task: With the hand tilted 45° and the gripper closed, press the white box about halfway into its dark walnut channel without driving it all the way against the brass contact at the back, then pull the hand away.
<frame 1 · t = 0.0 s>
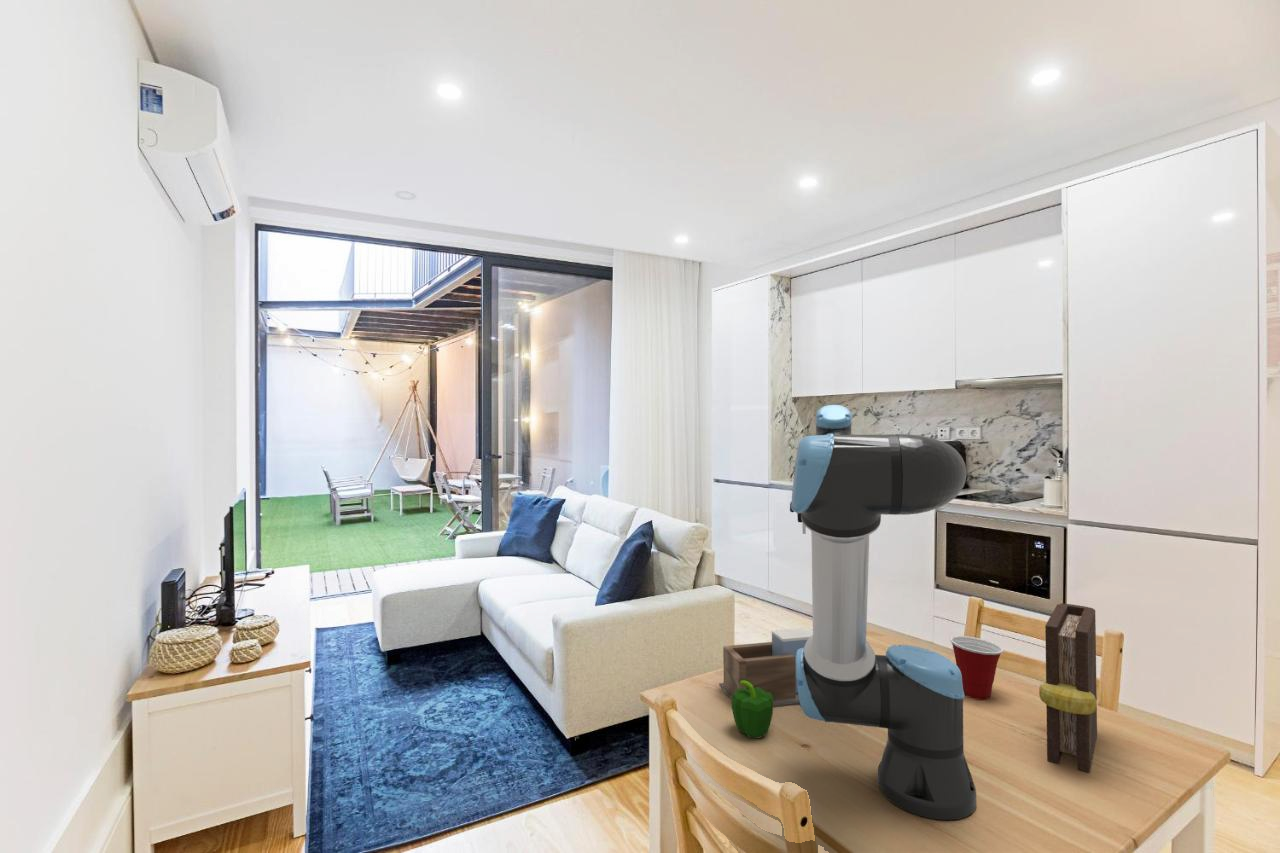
hand: (832, 531, 152), 36 cm above the table, tool tilted 35°, fingers open, 13 cm apart
book: (1072, 749, 116), on the table
housing: (770, 692, 141), on the table
bell pepper: (753, 732, 123), on the table
white box: (797, 659, 143), point 7 cm above the table, slide at 0.0 cm
plastic cup: (976, 695, 140), on the table
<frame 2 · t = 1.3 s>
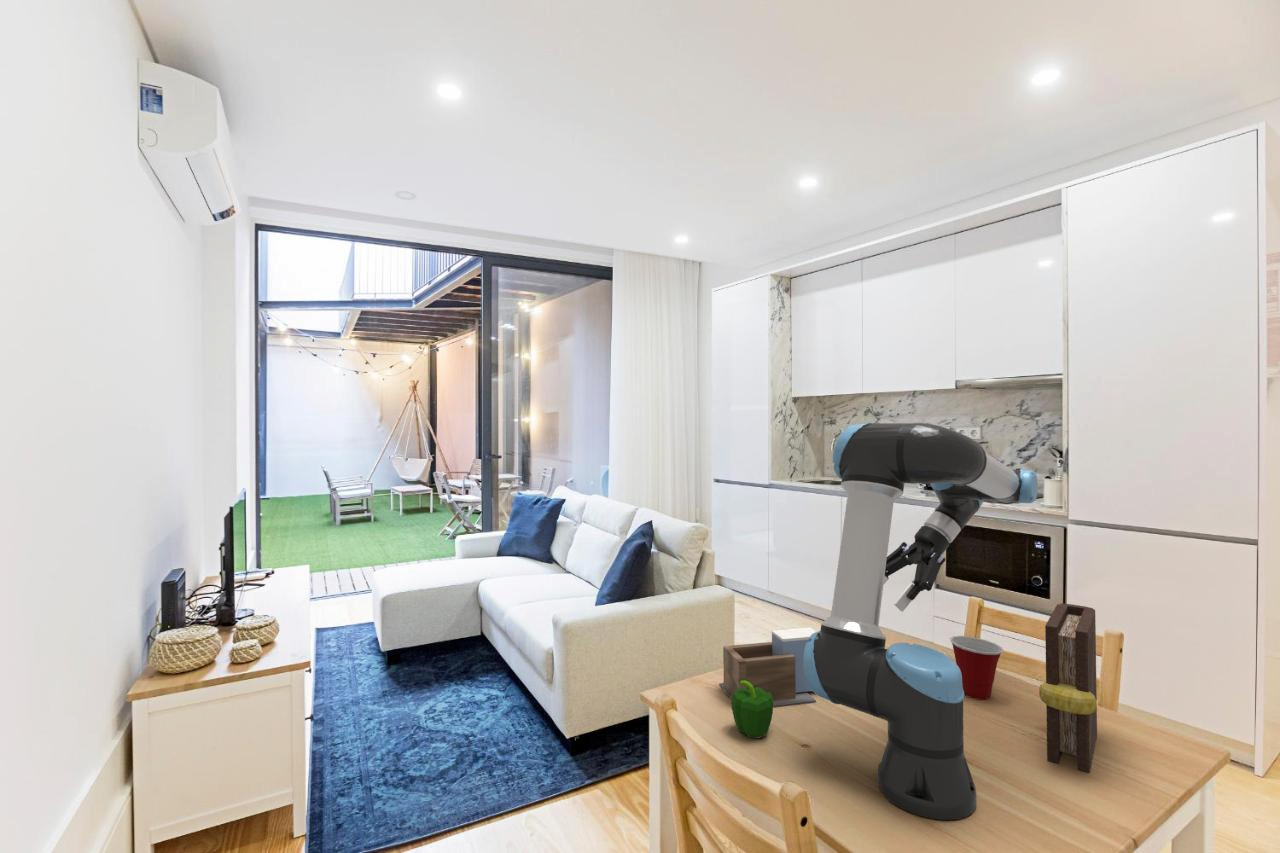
hand: (882, 600, 148), 19 cm above the table, tool tilted 45°, fingers open, 11 cm apart
nothing on the table moved.
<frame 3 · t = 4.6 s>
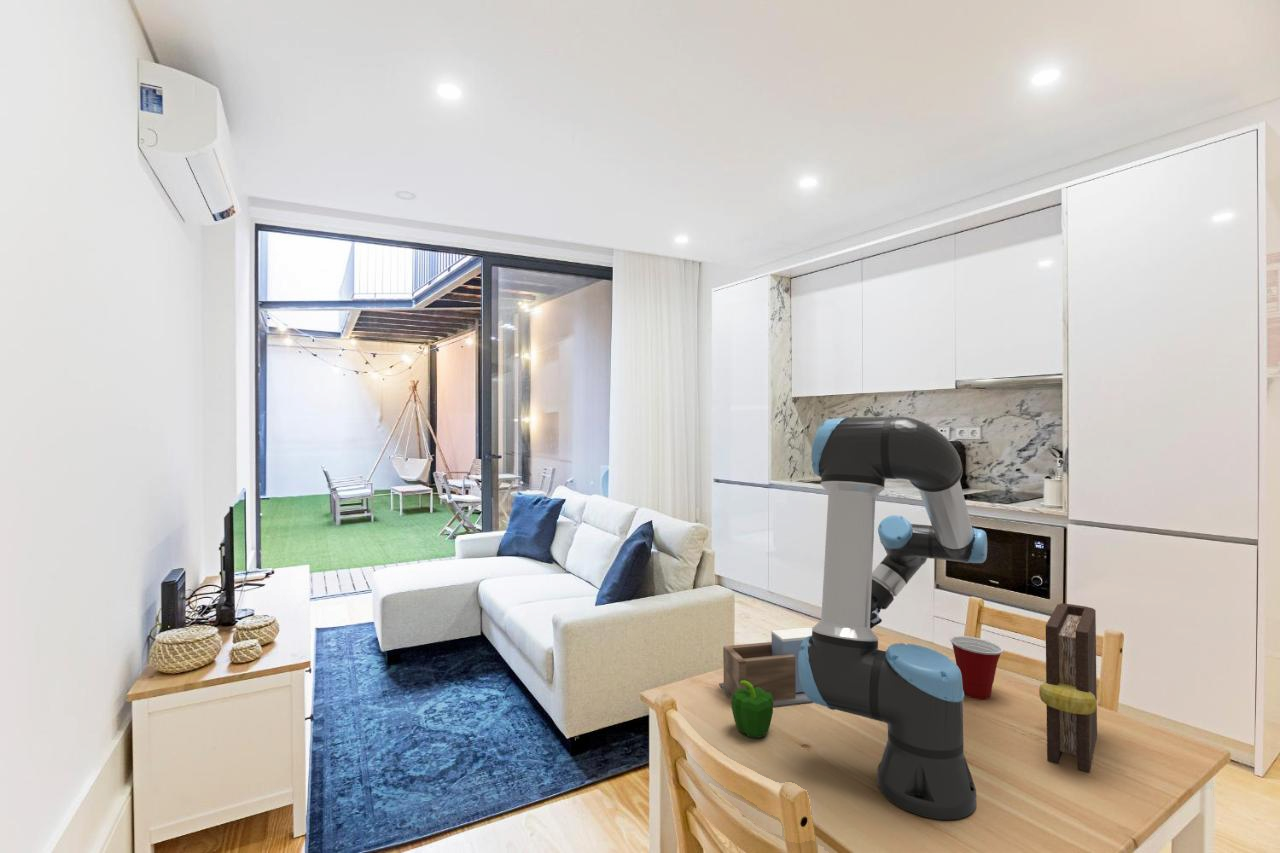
hand: (820, 661, 144), 6 cm above the table, tool tilted 45°, fingers closed
white box: (796, 659, 143), point 7 cm above the table, slide at 0.1 cm, touching gripper
everything else where it was.
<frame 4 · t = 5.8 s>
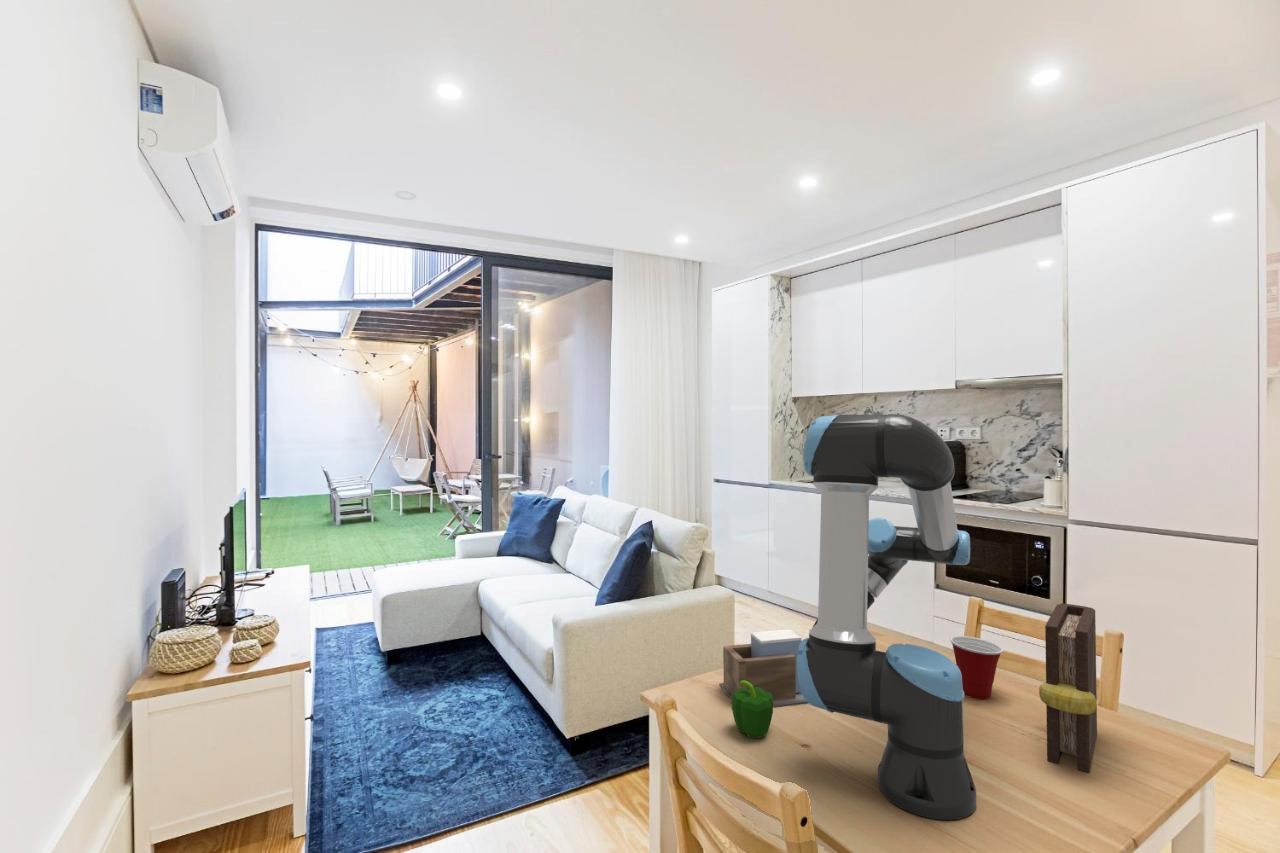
hand: (800, 663, 143), 6 cm above the table, tool tilted 45°, fingers closed
white box: (776, 661, 142), point 7 cm above the table, slide at 5.4 cm, touching gripper
everything else where it was.
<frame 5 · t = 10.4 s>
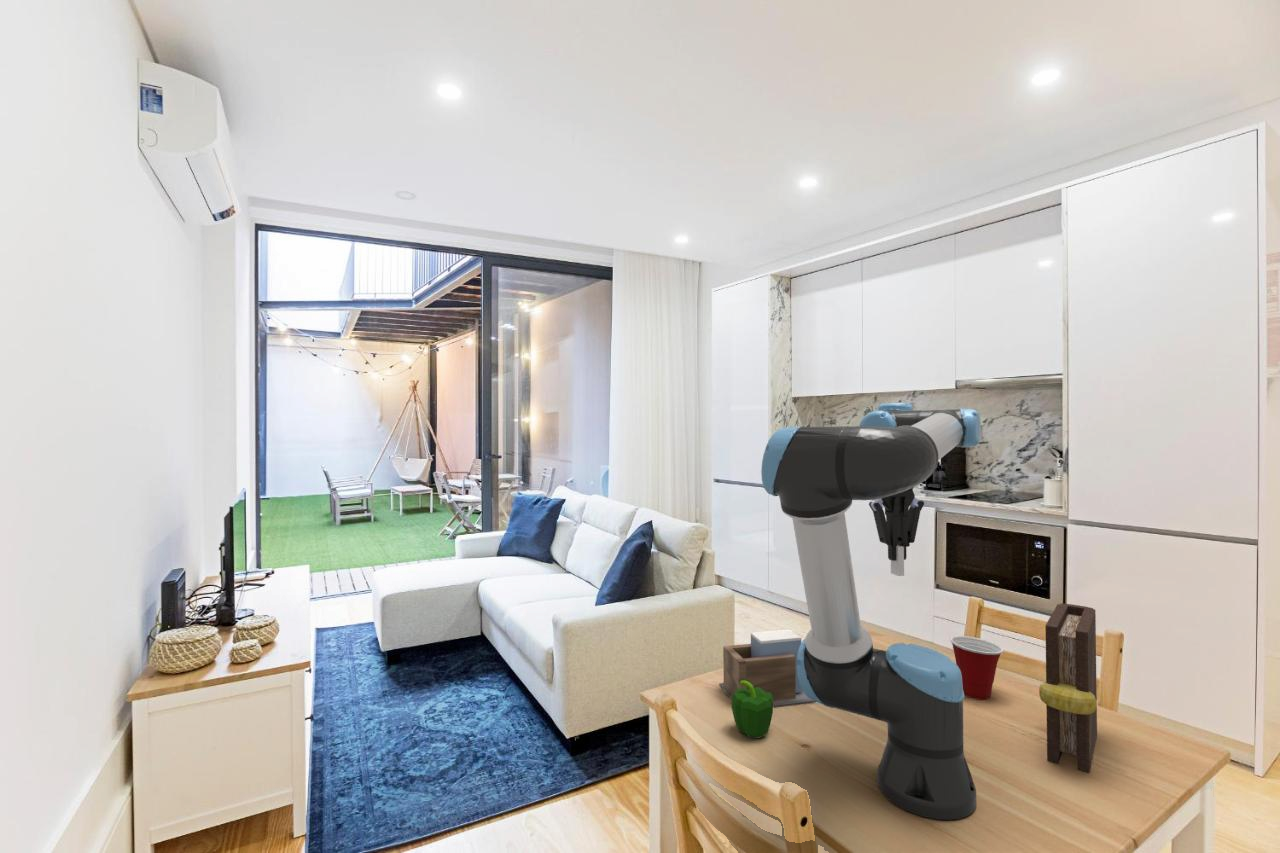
hand: (897, 574, 138), 28 cm above the table, tool pointing down, fingers closed
white box: (775, 661, 142), point 7 cm above the table, slide at 5.4 cm
everything else where it was.
at the end: white box slide at 5.4 cm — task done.
